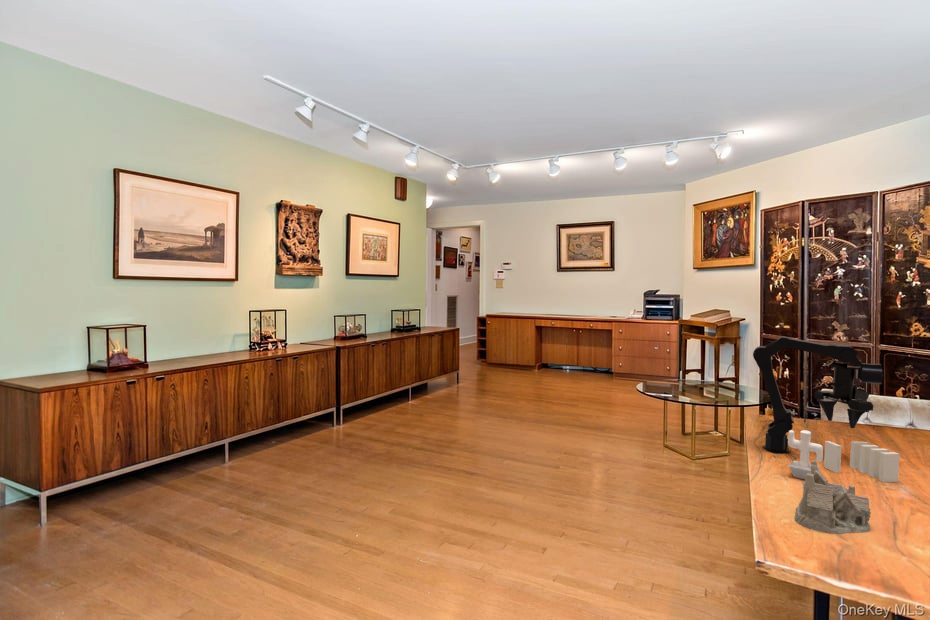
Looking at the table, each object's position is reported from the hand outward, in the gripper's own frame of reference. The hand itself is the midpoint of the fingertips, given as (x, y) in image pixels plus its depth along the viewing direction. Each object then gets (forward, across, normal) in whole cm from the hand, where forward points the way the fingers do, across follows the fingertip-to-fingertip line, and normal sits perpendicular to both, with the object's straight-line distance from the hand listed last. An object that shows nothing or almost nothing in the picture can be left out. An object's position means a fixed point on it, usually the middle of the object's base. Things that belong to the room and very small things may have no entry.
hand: (840, 424), depth 177 cm
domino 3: (+13, -12, 0) cm, 17 cm away
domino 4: (+13, -15, 0) cm, 20 cm away
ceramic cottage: (+13, -43, +43) cm, 62 cm away
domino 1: (+13, -9, +10) cm, 19 cm away
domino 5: (+13, -19, 0) cm, 23 cm away
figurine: (+13, -14, +25) cm, 32 cm away
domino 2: (+13, -8, 0) cm, 15 cm away
